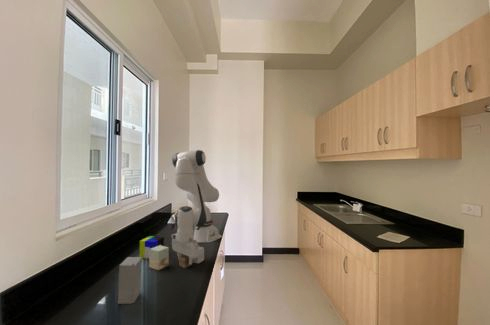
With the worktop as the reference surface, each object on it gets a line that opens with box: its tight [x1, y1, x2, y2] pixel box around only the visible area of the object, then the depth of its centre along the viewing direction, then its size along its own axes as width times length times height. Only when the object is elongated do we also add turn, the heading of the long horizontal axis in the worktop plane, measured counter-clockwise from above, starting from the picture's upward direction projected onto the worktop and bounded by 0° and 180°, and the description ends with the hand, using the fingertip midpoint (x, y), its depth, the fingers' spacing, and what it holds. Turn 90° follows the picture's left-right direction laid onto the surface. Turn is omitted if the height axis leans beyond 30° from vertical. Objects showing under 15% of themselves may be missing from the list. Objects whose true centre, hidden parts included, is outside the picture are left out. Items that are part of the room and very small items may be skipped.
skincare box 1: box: [117, 256, 143, 305], centre depth 99 cm, size 8×7×16 cm
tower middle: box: [148, 245, 170, 261], centre depth 131 cm, size 7×7×5 cm
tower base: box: [148, 257, 170, 271], centre depth 131 cm, size 7×7×5 cm
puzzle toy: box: [139, 235, 165, 259], centre depth 147 cm, size 10×10×10 cm
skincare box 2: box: [192, 246, 205, 264], centre depth 139 cm, size 6×6×7 cm
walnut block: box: [178, 254, 193, 269], centre depth 133 cm, size 5×5×5 cm
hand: (185, 262), depth 133 cm, fingers open, 7 cm apart
